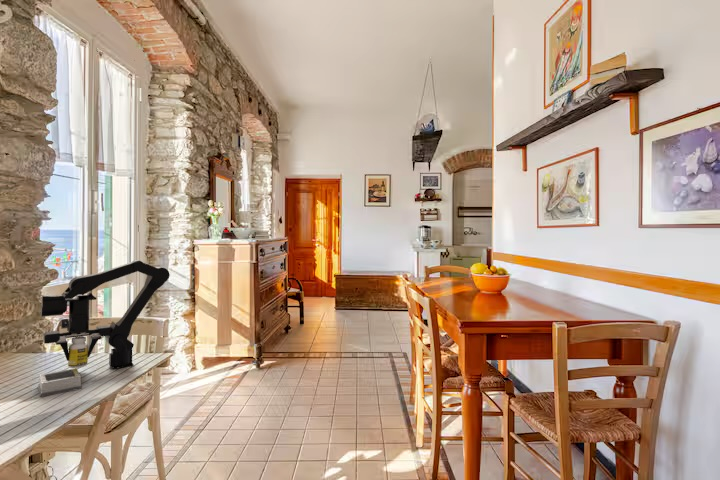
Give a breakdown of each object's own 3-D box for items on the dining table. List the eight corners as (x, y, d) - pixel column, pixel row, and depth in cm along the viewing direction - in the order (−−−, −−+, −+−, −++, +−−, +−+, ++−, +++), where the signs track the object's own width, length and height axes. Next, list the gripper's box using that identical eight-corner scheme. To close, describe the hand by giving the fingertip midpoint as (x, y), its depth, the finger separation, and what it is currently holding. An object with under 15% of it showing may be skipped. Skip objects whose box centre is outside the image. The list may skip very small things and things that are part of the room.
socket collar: (77, 379, 127) (77, 367, 127) (81, 388, 120) (82, 376, 120) (37, 386, 121) (38, 374, 121) (40, 396, 113) (40, 383, 113)
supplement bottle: (77, 369, 130) (78, 340, 130) (63, 368, 131) (64, 339, 131) (91, 364, 135) (92, 336, 135) (78, 363, 136) (79, 335, 136)
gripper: (106, 307, 145) (105, 348, 145) (42, 312, 133) (41, 358, 133) (112, 311, 137) (111, 355, 137) (45, 318, 125) (43, 366, 125)
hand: (78, 358), depth 133 cm, fingers closed on supplement bottle, 5 cm apart
